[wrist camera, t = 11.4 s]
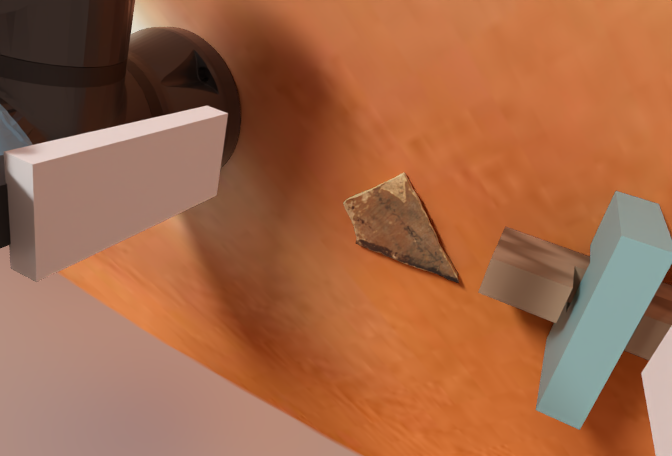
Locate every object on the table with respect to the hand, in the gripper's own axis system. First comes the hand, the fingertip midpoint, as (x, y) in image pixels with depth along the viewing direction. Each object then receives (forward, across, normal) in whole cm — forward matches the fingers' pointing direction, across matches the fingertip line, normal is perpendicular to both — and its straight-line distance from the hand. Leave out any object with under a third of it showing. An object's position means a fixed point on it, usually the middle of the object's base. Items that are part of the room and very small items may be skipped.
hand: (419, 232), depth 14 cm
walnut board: (+30, +11, -12) cm, 34 cm away
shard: (+31, -5, -13) cm, 34 cm away
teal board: (+30, +11, -11) cm, 34 cm away
